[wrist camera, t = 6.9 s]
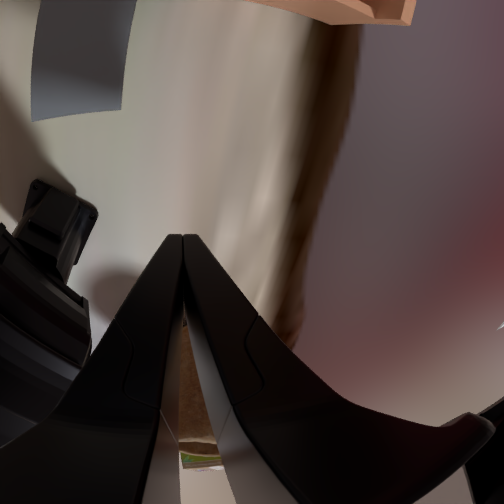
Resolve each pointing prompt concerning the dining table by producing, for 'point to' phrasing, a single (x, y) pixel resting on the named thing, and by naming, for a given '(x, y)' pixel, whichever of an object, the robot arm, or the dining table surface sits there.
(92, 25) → the grey flat piece
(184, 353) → the stone cup
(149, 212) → the dining table surface
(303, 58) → the dining table surface
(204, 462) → the tea box
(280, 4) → the brown boxy piece
